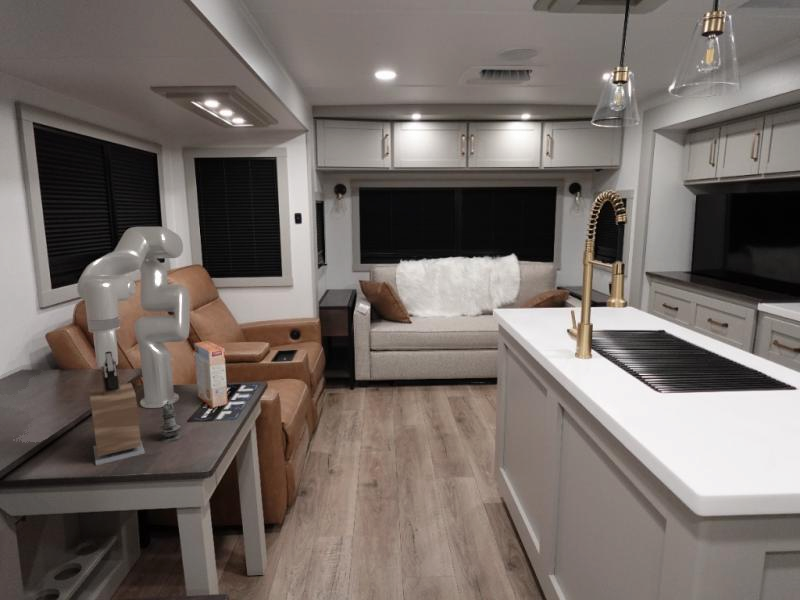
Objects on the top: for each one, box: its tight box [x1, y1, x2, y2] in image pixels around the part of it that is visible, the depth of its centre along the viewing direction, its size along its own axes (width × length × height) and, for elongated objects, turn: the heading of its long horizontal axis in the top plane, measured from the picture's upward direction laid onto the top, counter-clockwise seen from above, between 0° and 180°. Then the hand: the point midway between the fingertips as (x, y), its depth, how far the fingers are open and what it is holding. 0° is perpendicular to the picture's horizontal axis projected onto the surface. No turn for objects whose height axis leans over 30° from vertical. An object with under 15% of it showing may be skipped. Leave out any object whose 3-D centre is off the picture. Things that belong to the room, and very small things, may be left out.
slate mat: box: [92, 441, 146, 466], centre depth 144 cm, size 12×12×1 cm
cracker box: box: [193, 340, 229, 409], centre depth 178 cm, size 14×6×21 cm, turn 41°
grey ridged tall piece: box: [159, 401, 182, 443], centre depth 150 cm, size 6×6×12 cm
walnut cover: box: [88, 368, 142, 456], centre depth 141 cm, size 11×11×22 cm
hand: (111, 386), depth 140 cm, fingers closed on walnut cover, 3 cm apart
